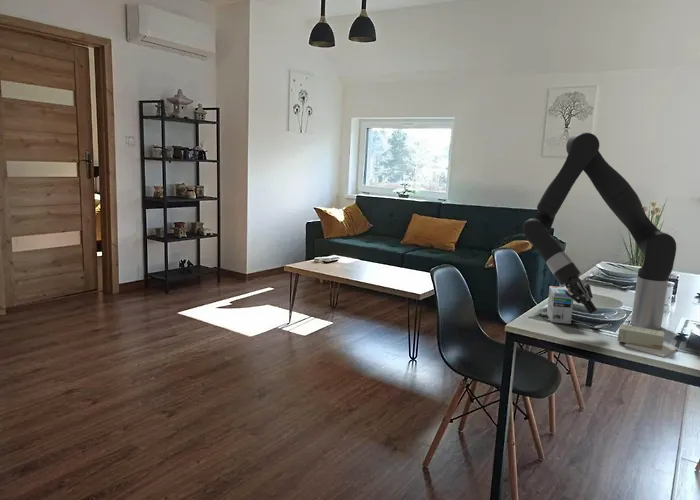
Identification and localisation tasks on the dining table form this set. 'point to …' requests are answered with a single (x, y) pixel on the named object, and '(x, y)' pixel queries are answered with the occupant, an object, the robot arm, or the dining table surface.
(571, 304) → the light bulb box
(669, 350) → the grey mat
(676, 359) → the dining table surface
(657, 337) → the skincare box
